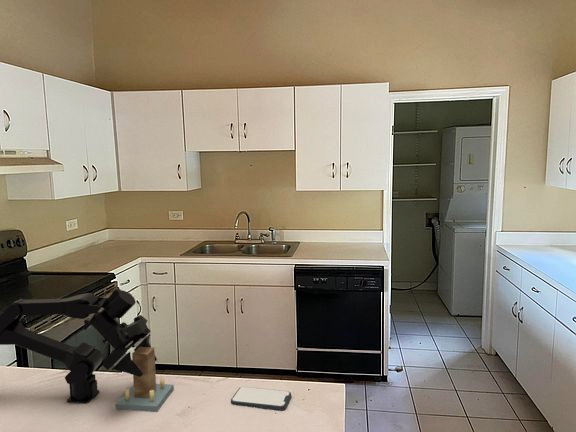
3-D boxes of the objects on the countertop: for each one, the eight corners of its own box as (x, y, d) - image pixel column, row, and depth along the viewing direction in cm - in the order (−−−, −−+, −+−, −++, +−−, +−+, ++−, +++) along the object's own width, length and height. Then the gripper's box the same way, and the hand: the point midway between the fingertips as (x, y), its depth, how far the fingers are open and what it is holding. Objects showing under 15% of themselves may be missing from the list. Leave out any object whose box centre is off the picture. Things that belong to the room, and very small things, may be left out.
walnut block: (134, 397, 124) (132, 353, 122) (141, 389, 128) (139, 346, 127) (149, 398, 123) (147, 354, 122) (156, 390, 128) (154, 347, 126)
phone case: (229, 406, 123) (284, 412, 119) (229, 401, 123) (284, 407, 119) (240, 391, 131) (292, 396, 127) (240, 385, 131) (292, 391, 127)
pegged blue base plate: (115, 409, 121) (114, 393, 120) (135, 387, 133) (134, 373, 132) (157, 411, 119) (156, 395, 119) (173, 389, 131) (173, 375, 131)
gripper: (111, 321, 114) (153, 364, 114) (143, 300, 133) (179, 336, 133) (84, 349, 116) (126, 391, 116) (119, 324, 135) (155, 360, 135)
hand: (148, 367), depth 125 cm, fingers open, 9 cm apart
